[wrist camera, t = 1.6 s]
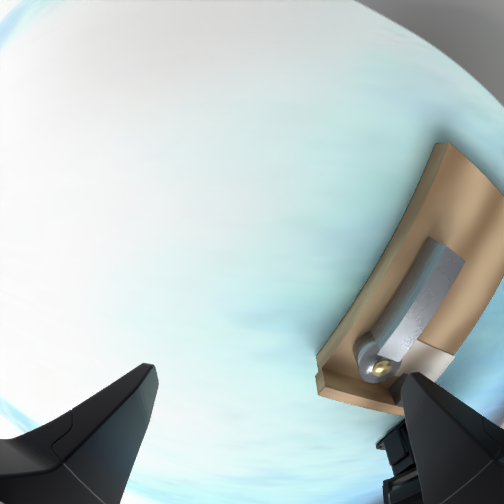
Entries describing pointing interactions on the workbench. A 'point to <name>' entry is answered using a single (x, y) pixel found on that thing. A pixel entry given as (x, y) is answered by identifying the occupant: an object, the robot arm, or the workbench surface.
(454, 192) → the door board
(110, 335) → the workbench surface
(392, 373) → the bar
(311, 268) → the workbench surface
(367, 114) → the workbench surface
